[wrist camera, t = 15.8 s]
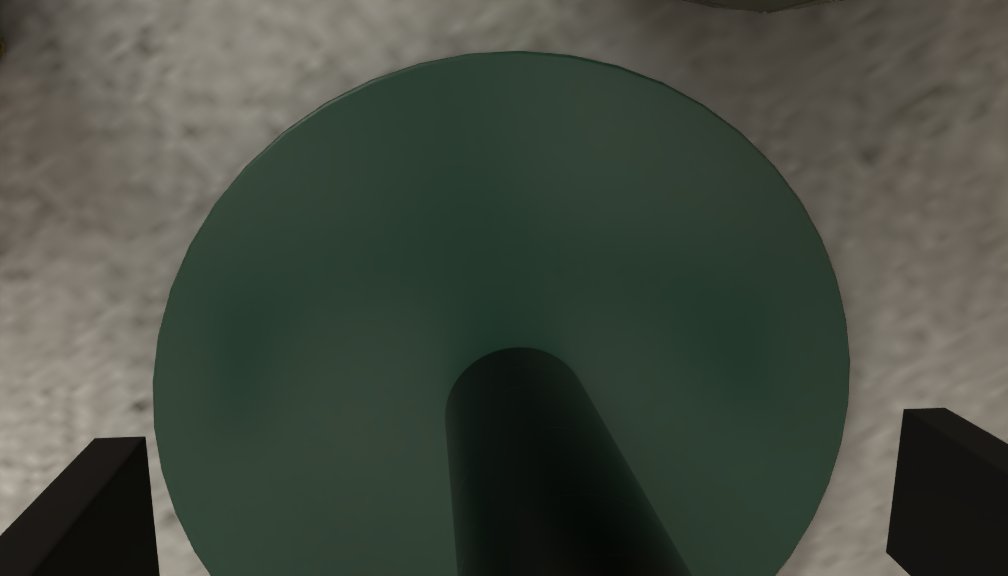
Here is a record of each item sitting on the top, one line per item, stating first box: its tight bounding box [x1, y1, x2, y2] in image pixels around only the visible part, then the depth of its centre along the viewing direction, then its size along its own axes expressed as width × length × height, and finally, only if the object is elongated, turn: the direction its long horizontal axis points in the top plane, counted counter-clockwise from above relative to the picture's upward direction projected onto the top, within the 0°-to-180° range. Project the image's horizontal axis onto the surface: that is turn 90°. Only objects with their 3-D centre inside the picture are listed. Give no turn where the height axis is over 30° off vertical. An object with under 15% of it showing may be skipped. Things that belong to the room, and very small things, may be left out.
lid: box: [153, 51, 850, 576], centre depth 13 cm, size 15×15×10 cm
